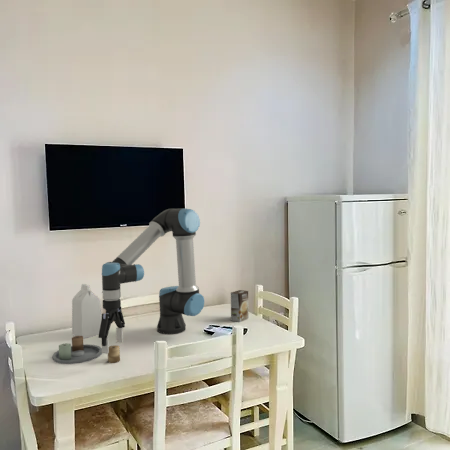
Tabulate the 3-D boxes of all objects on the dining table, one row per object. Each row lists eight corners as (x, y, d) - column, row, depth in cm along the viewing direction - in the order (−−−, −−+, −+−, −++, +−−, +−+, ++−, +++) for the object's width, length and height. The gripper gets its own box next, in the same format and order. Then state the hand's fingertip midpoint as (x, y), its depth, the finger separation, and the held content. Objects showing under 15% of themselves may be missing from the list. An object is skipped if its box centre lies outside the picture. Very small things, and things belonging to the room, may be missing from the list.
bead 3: (121, 359, 187) (121, 345, 187) (116, 363, 183) (116, 349, 182) (111, 358, 188) (110, 345, 188) (106, 362, 184) (105, 349, 183)
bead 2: (83, 351, 196) (83, 338, 196) (72, 352, 195) (71, 339, 194) (83, 347, 201) (82, 335, 201) (72, 349, 199) (71, 336, 199)
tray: (110, 348, 200) (110, 345, 200) (87, 366, 180) (87, 362, 180) (69, 346, 205) (69, 343, 204) (42, 363, 184) (42, 360, 184)
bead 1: (73, 356, 190) (73, 343, 189) (67, 361, 185) (66, 347, 184) (63, 356, 191) (62, 342, 190) (56, 360, 186) (56, 346, 185)
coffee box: (240, 322, 239) (239, 293, 238) (230, 320, 242) (230, 292, 241) (249, 318, 246) (248, 290, 245) (239, 316, 250) (239, 289, 249)
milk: (103, 333, 224) (101, 284, 222) (82, 339, 216) (80, 288, 214) (92, 328, 232) (90, 281, 231) (72, 334, 224) (69, 285, 223)
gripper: (116, 292, 197) (117, 338, 198) (88, 305, 172) (90, 357, 173) (131, 293, 195) (132, 338, 196) (106, 306, 171) (107, 358, 172)
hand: (112, 347), depth 185 cm, fingers open, 13 cm apart
